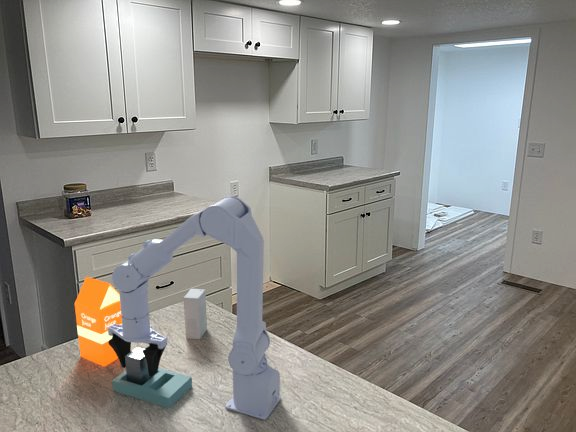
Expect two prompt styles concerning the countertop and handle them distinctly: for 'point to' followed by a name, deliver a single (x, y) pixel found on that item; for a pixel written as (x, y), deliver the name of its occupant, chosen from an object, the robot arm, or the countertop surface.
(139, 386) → the holder
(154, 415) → the countertop surface
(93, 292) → the orange juice
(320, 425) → the countertop surface
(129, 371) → the peg
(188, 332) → the skincare box
